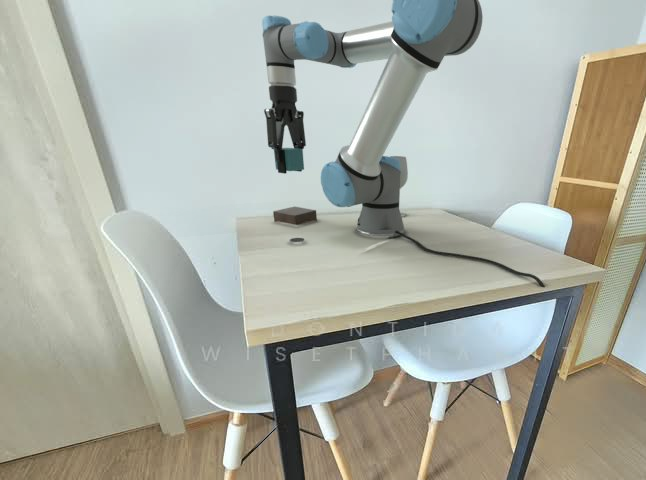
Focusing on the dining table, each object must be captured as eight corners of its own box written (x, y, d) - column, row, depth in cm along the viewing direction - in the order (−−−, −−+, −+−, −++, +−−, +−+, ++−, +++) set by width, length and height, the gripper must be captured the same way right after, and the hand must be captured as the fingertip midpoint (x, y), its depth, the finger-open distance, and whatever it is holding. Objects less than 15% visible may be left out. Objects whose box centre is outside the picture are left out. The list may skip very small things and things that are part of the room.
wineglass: (409, 216, 136) (412, 157, 127) (391, 218, 133) (392, 157, 124) (400, 212, 142) (402, 155, 133) (383, 213, 139) (383, 155, 130)
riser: (317, 221, 125) (316, 210, 123) (296, 227, 117) (295, 215, 115) (295, 217, 129) (294, 206, 127) (274, 223, 121) (273, 211, 119)
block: (304, 169, 112) (302, 148, 109) (290, 171, 107) (288, 149, 104) (289, 167, 114) (287, 147, 112) (275, 169, 110) (273, 148, 107)
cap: (307, 242, 103) (307, 239, 102) (297, 246, 100) (297, 242, 99) (297, 240, 104) (296, 236, 104) (287, 243, 101) (286, 240, 101)
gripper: (295, 89, 110) (302, 168, 120) (245, 82, 95) (257, 173, 105) (314, 89, 107) (319, 170, 117) (266, 82, 92) (276, 176, 102)
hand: (290, 171), depth 111 cm, fingers closed on block, 6 cm apart
